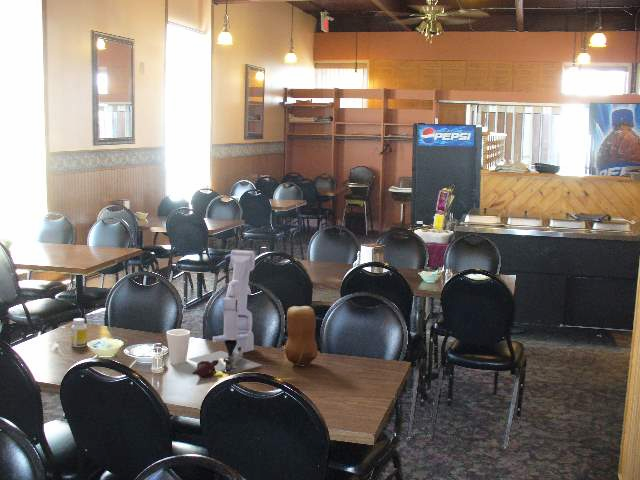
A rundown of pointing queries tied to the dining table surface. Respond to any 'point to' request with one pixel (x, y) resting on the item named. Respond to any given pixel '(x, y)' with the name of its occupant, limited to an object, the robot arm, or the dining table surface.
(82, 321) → the pill bottle
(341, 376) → the dining table surface
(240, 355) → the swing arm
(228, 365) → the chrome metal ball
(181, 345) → the foam cup
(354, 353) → the dining table surface
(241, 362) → the board
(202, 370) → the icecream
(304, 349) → the butternut squash
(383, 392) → the dining table surface
